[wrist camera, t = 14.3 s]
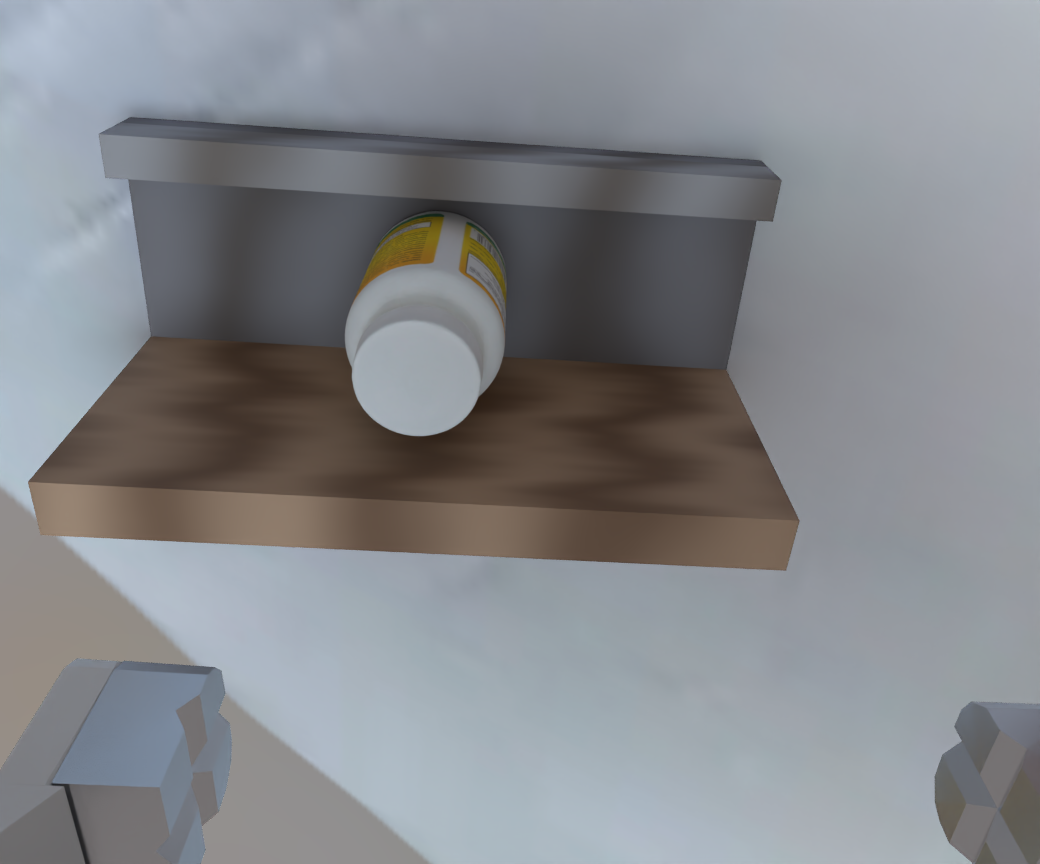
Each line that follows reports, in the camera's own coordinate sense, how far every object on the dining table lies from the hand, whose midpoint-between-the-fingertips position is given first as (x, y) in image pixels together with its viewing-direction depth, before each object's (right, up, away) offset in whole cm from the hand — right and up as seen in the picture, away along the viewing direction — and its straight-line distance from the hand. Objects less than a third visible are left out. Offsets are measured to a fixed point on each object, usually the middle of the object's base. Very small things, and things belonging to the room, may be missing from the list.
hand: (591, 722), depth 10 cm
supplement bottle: (-4, +10, +26) cm, 28 cm away
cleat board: (-4, +10, +27) cm, 29 cm away
